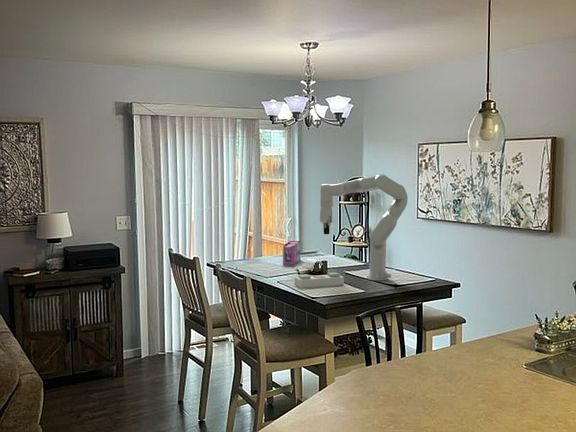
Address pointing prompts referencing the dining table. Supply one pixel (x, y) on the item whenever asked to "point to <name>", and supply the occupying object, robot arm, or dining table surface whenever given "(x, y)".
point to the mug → (311, 264)
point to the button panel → (319, 281)
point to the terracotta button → (319, 276)
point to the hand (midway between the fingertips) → (326, 233)
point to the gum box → (291, 252)
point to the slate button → (334, 274)
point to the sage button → (305, 276)
